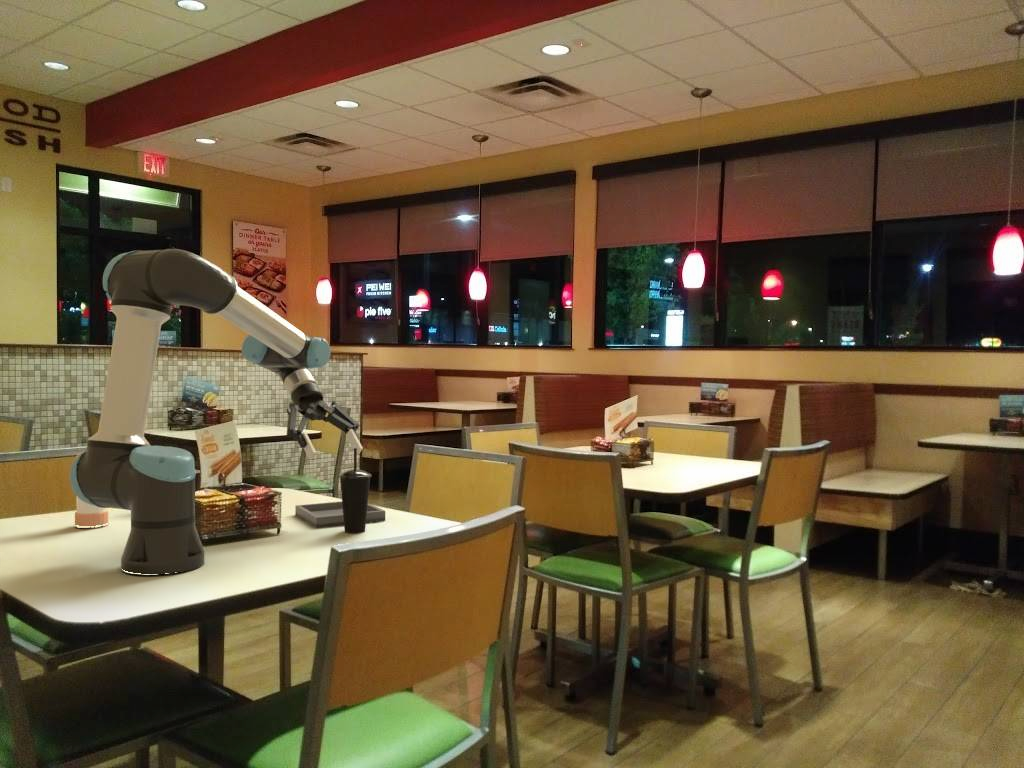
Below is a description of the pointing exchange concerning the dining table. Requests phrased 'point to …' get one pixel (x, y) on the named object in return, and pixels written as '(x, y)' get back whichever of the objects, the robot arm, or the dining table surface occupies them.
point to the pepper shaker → (89, 513)
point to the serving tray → (333, 514)
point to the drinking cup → (355, 498)
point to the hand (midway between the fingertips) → (336, 454)
